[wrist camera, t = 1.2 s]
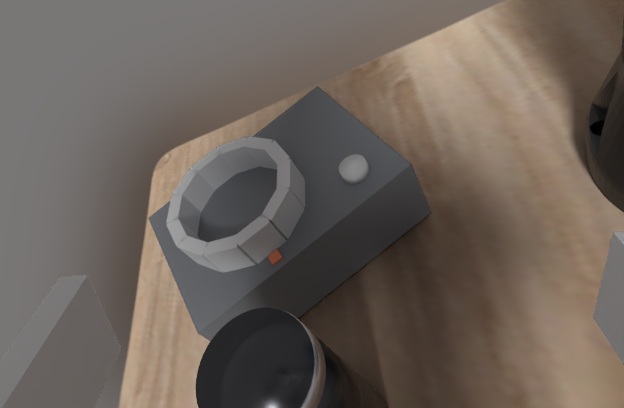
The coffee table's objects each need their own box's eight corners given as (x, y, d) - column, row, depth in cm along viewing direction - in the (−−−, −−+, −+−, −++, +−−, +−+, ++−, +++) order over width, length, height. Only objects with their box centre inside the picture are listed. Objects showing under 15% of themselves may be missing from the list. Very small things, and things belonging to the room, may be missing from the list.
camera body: (342, 132, 46) (305, 63, 40) (431, 212, 37) (401, 140, 31) (190, 252, 46) (128, 201, 39) (243, 361, 37) (174, 318, 31)
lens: (356, 359, 33) (276, 282, 25) (411, 438, 29) (339, 381, 21) (285, 416, 33) (179, 359, 24) (331, 504, 29) (222, 475, 20)
